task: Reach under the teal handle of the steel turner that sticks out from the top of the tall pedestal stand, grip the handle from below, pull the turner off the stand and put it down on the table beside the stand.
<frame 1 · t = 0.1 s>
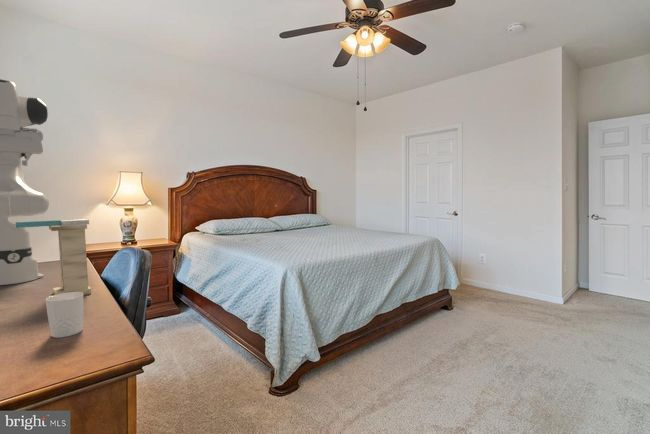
hand: (6, 165, 117), 48 cm above the table, tool pointing down, fingers open, 8 cm apart
white cup: (67, 333, 88), on the table
turner: (60, 225, 120), point 26 cm above the table, touching pedestal stand
pedestal stand: (72, 293, 123), on the table
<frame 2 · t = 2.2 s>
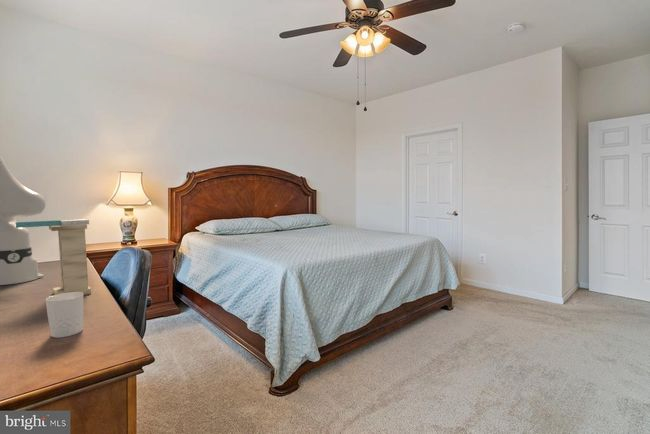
nothing on the table moved.
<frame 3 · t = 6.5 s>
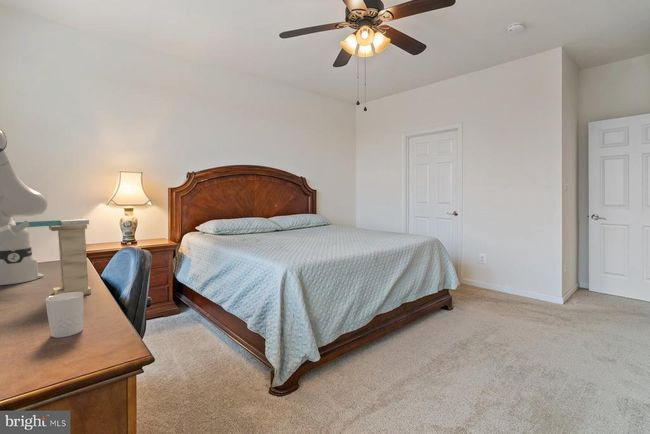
hand: (28, 222, 114), 27 cm above the table, tool pointing upward, fingers closed on turner, 2 cm apart
turner: (60, 225, 120), point 26 cm above the table, touching gripper, pedestal stand
everything else where it was.
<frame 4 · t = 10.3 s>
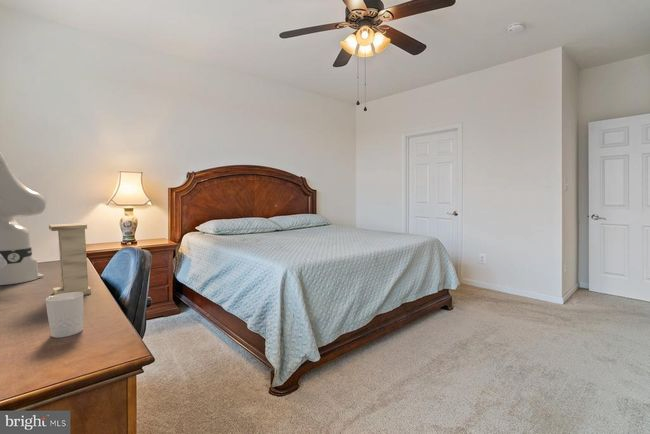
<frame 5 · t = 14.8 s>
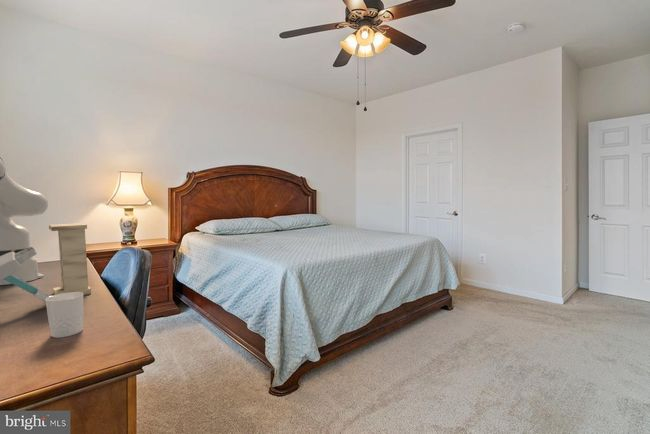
hand: (34, 249, 105), 19 cm above the table, tool pointing upward, fingers open, 6 cm apart
turner: (32, 293, 105), point 5 cm above the table, tilted 43°, touching arm
everything else where it was.
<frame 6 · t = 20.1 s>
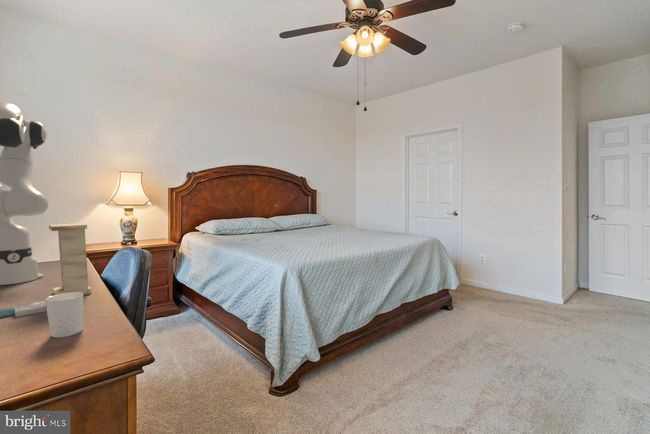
turner: (14, 313, 102), on the table
everything else where it was.
at the end: turner on the table; turner touching table; the gripper is holding nothing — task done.
